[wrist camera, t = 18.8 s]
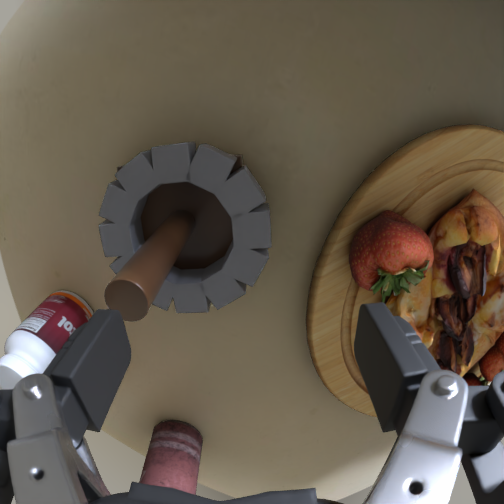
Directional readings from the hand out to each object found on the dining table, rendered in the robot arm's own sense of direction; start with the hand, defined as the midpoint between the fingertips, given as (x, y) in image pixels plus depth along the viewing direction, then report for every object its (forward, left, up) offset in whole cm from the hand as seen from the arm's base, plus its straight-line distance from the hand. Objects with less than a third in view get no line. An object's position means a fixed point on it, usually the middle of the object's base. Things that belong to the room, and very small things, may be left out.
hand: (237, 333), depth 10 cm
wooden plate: (+20, -8, -15) cm, 26 cm away
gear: (-4, 0, -13) cm, 14 cm away
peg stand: (-5, 0, -15) cm, 15 cm away
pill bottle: (-18, -9, -15) cm, 25 cm away
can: (-9, -26, -15) cm, 32 cm away
